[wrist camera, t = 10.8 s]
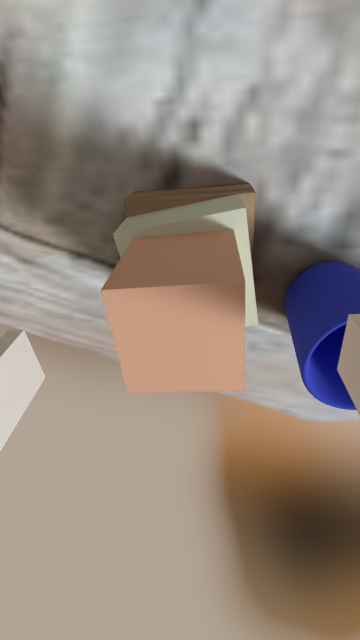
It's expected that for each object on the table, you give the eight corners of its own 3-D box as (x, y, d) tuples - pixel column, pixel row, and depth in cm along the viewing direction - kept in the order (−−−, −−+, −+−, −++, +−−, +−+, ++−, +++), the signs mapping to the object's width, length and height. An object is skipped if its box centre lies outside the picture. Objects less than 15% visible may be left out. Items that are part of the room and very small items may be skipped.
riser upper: (126, 217, 23) (112, 234, 19) (239, 193, 21) (245, 207, 18) (155, 312, 27) (147, 340, 23) (251, 297, 25) (258, 325, 22)
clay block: (133, 238, 19) (100, 290, 13) (233, 229, 19) (245, 281, 13) (149, 321, 22) (127, 393, 17) (235, 317, 22) (245, 390, 16)
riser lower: (135, 191, 26) (123, 201, 22) (249, 182, 25) (255, 192, 21) (149, 291, 30) (142, 312, 27) (246, 287, 29) (250, 309, 26)
